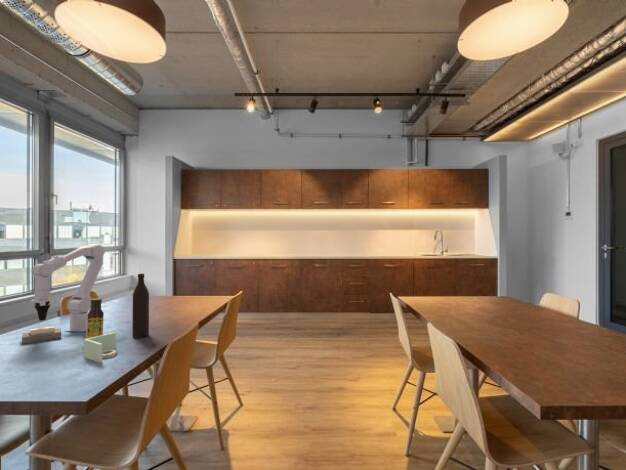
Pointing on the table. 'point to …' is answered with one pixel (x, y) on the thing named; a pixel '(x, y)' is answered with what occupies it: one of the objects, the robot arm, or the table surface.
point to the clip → (42, 330)
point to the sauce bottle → (95, 319)
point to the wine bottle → (140, 309)
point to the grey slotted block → (41, 337)
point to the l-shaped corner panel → (100, 347)
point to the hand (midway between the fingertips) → (42, 318)
